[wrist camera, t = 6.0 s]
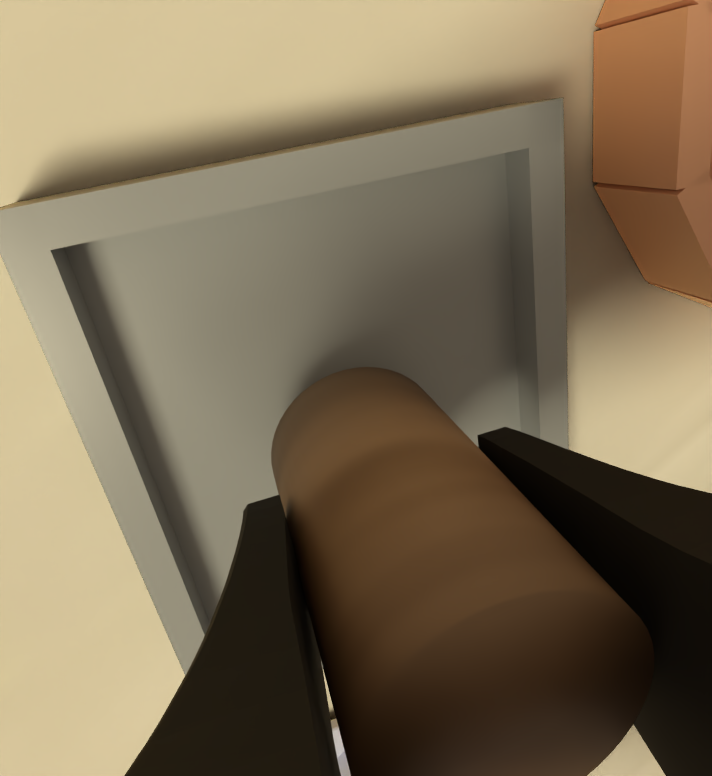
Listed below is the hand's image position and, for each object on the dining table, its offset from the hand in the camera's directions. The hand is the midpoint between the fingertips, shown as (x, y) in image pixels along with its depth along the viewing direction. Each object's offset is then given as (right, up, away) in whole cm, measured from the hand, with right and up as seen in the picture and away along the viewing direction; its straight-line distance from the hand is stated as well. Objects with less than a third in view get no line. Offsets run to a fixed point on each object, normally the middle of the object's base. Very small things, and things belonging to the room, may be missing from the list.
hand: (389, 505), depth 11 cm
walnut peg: (-1, +1, +2) cm, 2 cm away
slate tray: (-1, +2, +4) cm, 4 cm away
